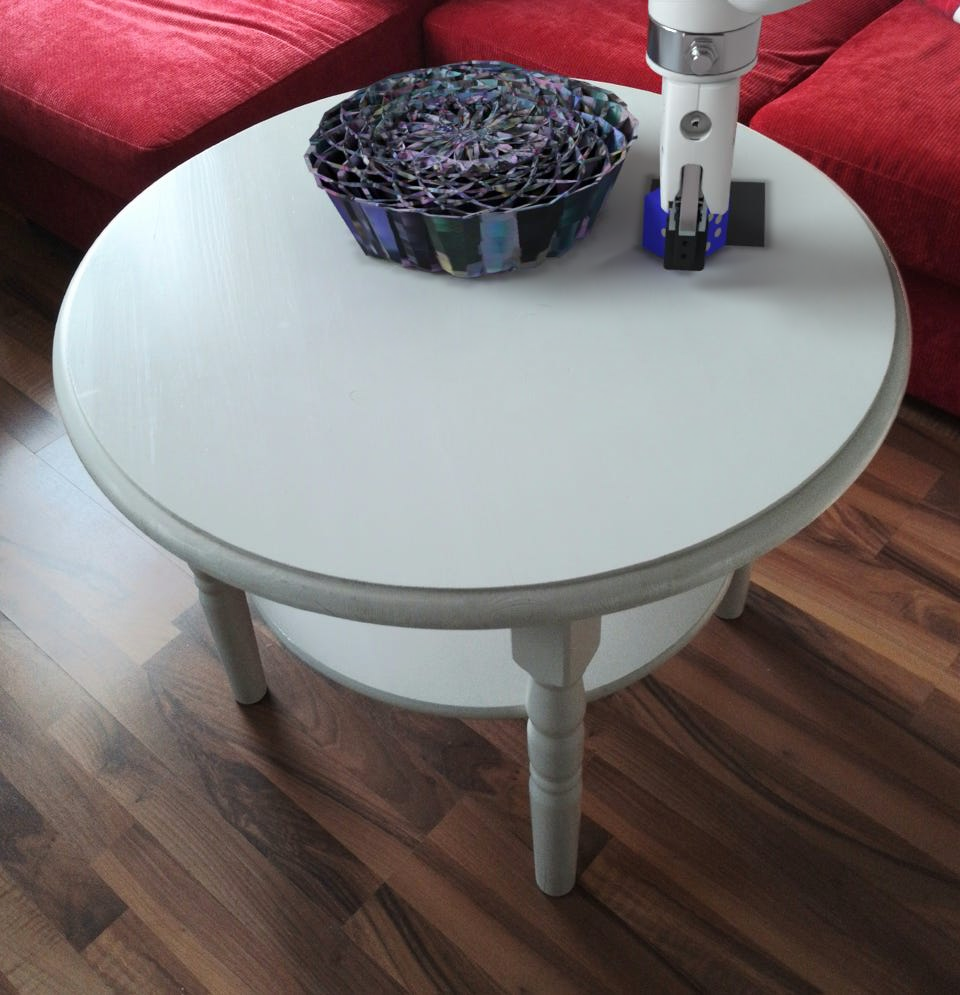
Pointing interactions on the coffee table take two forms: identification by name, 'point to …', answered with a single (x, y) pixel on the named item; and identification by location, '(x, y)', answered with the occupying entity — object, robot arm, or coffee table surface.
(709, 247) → the die
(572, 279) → the coffee table surface
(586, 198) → the decorative bowl
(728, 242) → the pad
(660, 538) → the coffee table surface
